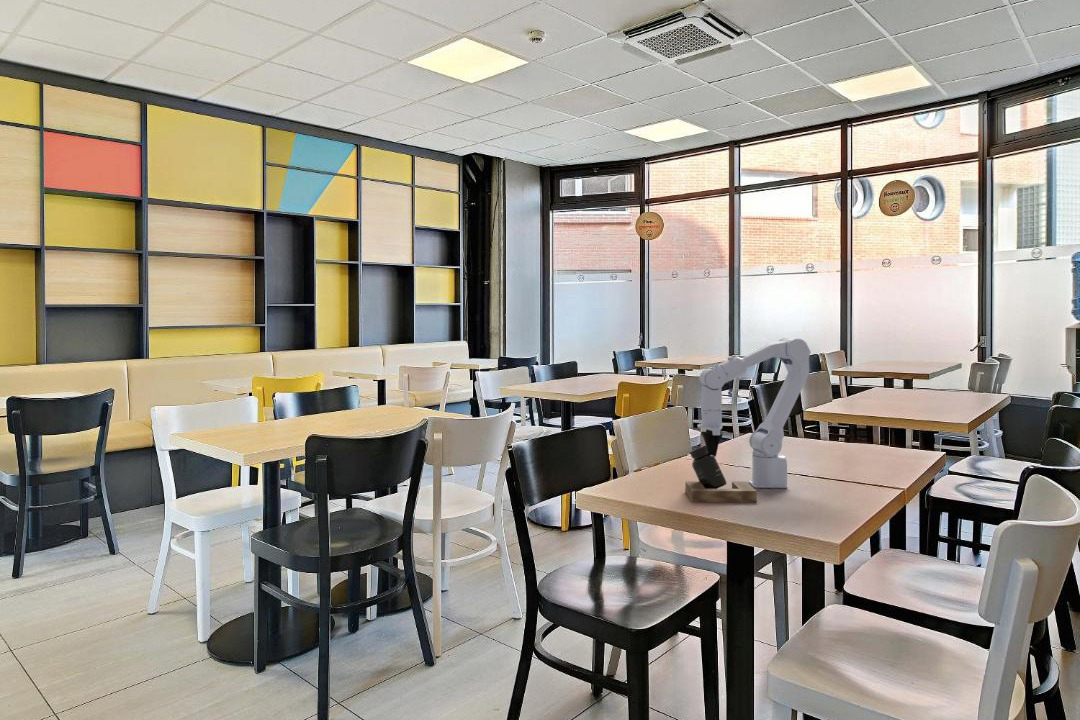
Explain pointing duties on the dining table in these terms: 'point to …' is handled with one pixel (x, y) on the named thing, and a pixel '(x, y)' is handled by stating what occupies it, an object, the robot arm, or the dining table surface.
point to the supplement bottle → (707, 469)
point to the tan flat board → (721, 493)
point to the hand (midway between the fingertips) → (711, 456)
